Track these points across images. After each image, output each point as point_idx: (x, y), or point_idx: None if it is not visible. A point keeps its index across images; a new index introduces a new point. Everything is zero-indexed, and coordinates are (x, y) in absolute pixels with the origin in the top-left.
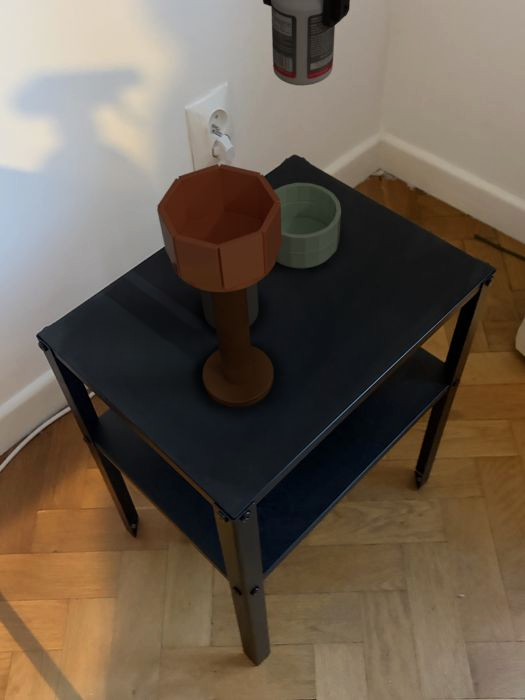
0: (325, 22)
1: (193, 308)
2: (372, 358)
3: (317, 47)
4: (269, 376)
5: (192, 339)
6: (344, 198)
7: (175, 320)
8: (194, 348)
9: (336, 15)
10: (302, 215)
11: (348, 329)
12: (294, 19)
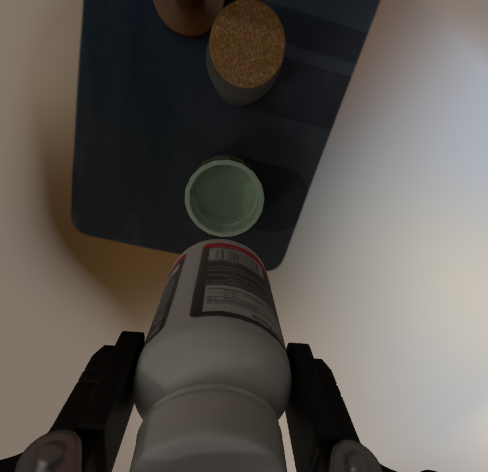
0: (132, 336)
1: None
2: (95, 89)
3: (164, 295)
4: (157, 4)
5: None
6: None
7: None
8: None
9: (103, 357)
10: (237, 216)
11: (132, 112)
12: (195, 312)
